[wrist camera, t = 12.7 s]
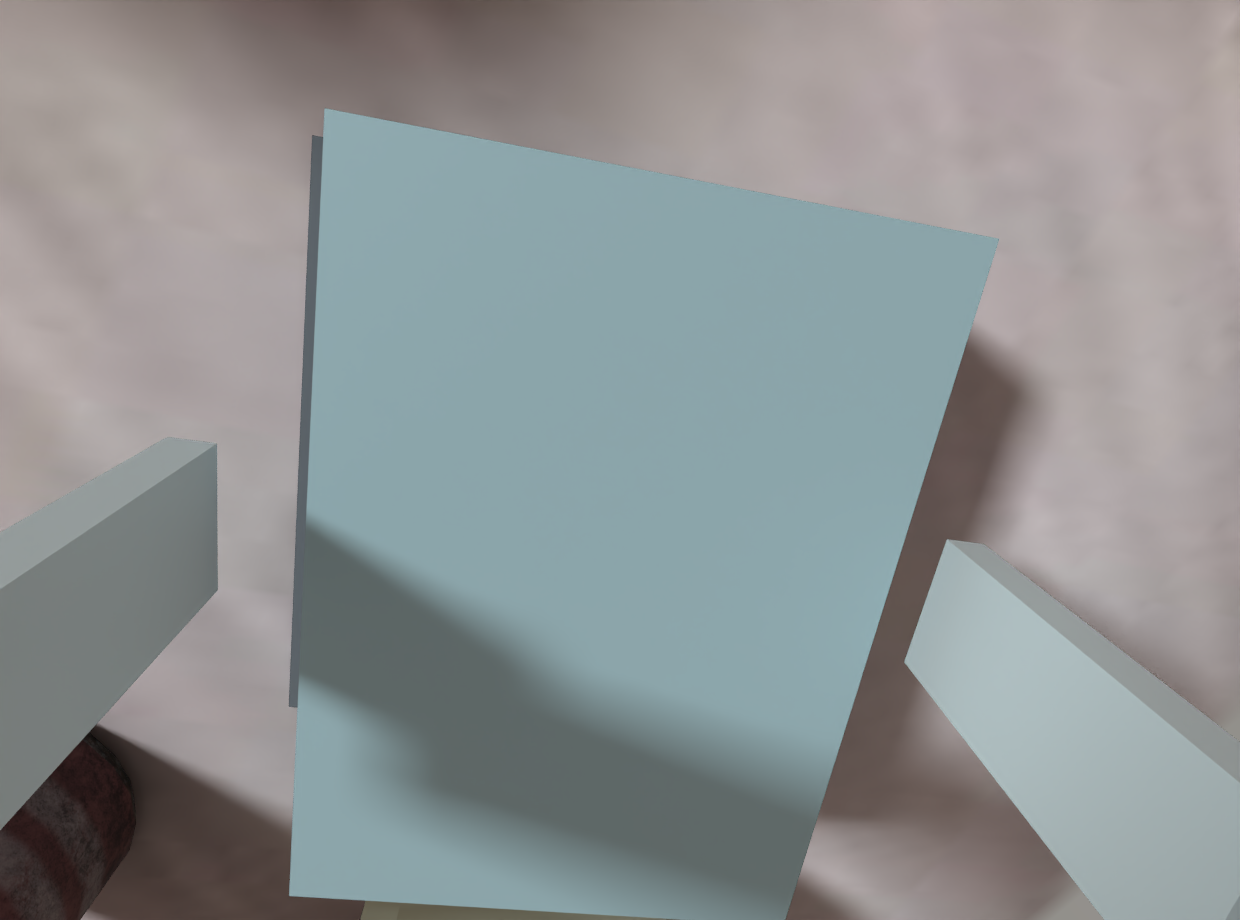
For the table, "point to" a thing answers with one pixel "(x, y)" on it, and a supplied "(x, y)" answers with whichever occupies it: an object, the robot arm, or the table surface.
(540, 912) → the crate
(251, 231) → the table surface
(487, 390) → the lid
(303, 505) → the mat
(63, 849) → the can
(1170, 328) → the table surface
